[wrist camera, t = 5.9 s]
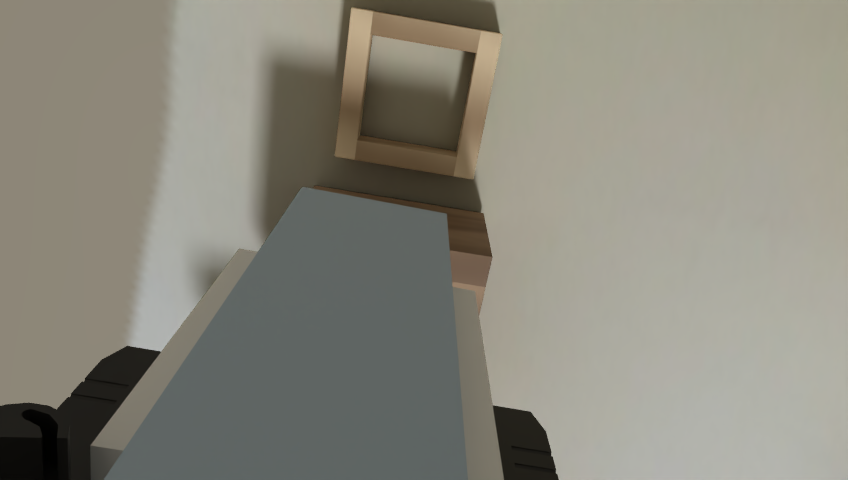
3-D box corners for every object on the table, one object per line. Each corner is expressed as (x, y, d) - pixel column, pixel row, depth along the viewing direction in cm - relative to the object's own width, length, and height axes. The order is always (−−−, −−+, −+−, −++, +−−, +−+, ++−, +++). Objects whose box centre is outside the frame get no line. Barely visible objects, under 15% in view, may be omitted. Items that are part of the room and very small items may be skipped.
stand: (354, 7, 29) (351, 7, 28) (500, 32, 29) (502, 34, 28) (338, 150, 31) (334, 156, 30) (471, 173, 32) (473, 179, 30)
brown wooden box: (314, 185, 32) (289, 224, 26) (483, 213, 32) (492, 257, 27) (299, 332, 35) (274, 393, 30) (452, 356, 36) (455, 420, 30)
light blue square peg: (302, 186, 16) (34, 582, 5) (446, 213, 17) (480, 646, 6) (286, 314, 18) (49, 836, 7) (419, 337, 18) (403, 877, 7)
